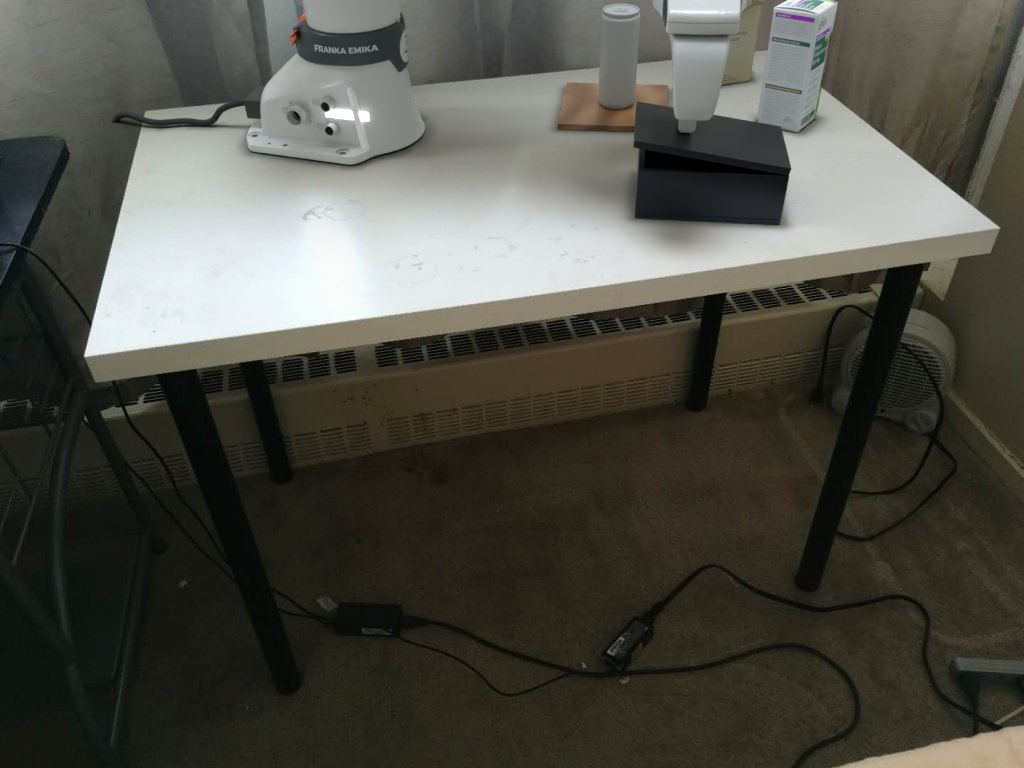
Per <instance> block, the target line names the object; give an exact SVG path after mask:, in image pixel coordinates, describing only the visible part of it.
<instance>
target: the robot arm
mask: <svg viewBox="0 0 1024 768" xmlns="http://www.w3.org/2000/svg"><path fill="white" fill-rule="evenodd" d="M746 2H747V0H652V7H653V8H654V10H656V11H657V12H658V13H659V16H660V17H661V19H662V21H663V24H664V27H665V33H666V34H668V37H669V42H670V51H671V77H672V78H671V80H672V107H673V109H674V116H675V118H676V119H678V130H679V131H680V132H682V133H692V132H694V131H695V129H696V121H705V120H710V119H711V118H712V116H713V115H715V112H716V109H717V106H718V102H719V98H720V93H721V89H722V86H723V85H722V80H723V75H724V71H725V66H726V61H727V56H728V51H729V45H730V38H731V35H734V34H737V33H738V30H739V25H740V18H741V14H742V11H743V10H744V9H745V7H746ZM302 4H303V8H304V9H303V10H304V12H303V14H302V15H301V16H300V17H299V18H298V23H297V24H296V25H295V26H294V27H293V28H292V32H291V34H290V35H289V36H288V39H290V42H289V43H290V44H289V45H290V46H292V47H293V46H294V45H295V47H296V50H297V51H296V53H295V54H294V55H293V56H292V57H290V59H289V60H288V61H287V62H286V63H285V64H283V66H282V67H281V68H280V69H279V70H278V71H277V72H276V73H274V75H273V76H272V77H271V78H270V79H269V80H268V81H267V83H266V84H265V85H258V86H257V87H256V88H255V89H254V90H253V91H252V92H250V93H249V94H248V95H247V96H246V97H244V98H243V99H238V100H237V99H236V100H233V101H229V102H226V103H224V104H221V105H220V106H219V107H217V108H216V110H215V111H214V113H213V115H212V116H211V117H209V118H207V119H199V118H191V117H178V118H177V117H176V118H167V119H165V118H164V119H154V118H149V117H146V116H143V115H140V114H138V113H135V112H132V111H124V110H123V111H119V112H117V113H116V114H115V115H114V116H113V117H112V119H111V123H113V124H115V123H119V122H120V120H122V119H125V118H127V119H131V120H134V121H137V122H139V123H142V124H145V125H148V126H155V127H158V126H159V127H160V126H161V127H163V126H176V125H177V126H178V125H192V126H200V127H206V126H212V125H213V124H216V123H217V122H218V121H219V119H220V117H221V116H222V115H223V113H225V112H227V111H229V110H231V109H234V108H238V107H244V109H245V113H246V117H247V119H252V120H253V119H255V121H254V122H253V123H252V124H251V125H250V127H249V128H248V131H247V134H246V143H247V148H248V149H249V151H250V152H254V153H259V154H260V153H262V154H267V155H275V156H283V157H290V158H295V159H296V158H298V159H305V160H311V161H320V162H327V163H334V164H341V165H351V166H352V165H358V164H360V163H362V162H365V161H367V160H369V159H371V158H373V157H377V156H380V155H384V154H388V153H392V152H395V151H399V150H401V149H404V148H406V147H408V146H410V145H412V144H414V143H415V142H417V141H418V140H419V139H421V137H422V136H423V135H424V133H425V131H426V124H425V123H424V120H423V118H422V115H421V112H420V110H419V107H418V104H417V100H416V97H415V94H414V90H413V86H412V85H413V84H412V81H411V78H410V73H409V67H408V64H409V62H410V61H409V60H410V50H409V49H410V48H409V39H408V38H409V37H408V31H407V28H406V22H405V21H406V20H405V16H404V14H403V13H402V12H401V9H400V0H302Z"/></svg>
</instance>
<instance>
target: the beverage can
mask: <svg viewBox="0 0 1024 768" xmlns="http://www.w3.org/2000/svg"><path fill="white" fill-rule="evenodd" d="M640 11H641V9H640V7H638V6H637V5H634V4H631V3H612V4H608V5H605V6H604V7H603V9H602V14H601V23H600V45H599V46H600V47H599V72H598V73H599V74H598V83H599V94H598V100H599V102H600V103H601V105H602V106H604V107H605V108H608V109H625V108H628V107H630V106H631V105H632V104H633V103H634V101H635V90H636V84H637V74H638V61H639V60H638V59H639V46H640V45H639V44H640V29H641V13H640Z"/></svg>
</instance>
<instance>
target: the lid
mask: <svg viewBox="0 0 1024 768" xmlns="http://www.w3.org/2000/svg"><path fill="white" fill-rule="evenodd" d="M632 147H633V148H634V149H638V150H639V149H644V150H649V151H655V152H661V153H666V154H672V155H678V156H683V157H689V158H694V159H700V160H706V161H711V162H717V163H723V164H728V165H734V166H740V167H745V168H751V169H756V170H762V171H768V172H773V173H779V174H785V175H789V176H790V174H791V171H792V164H791V161H790V156H789V153H788V149H787V144H786V140H785V135H784V133H783V129H782V128H781V126H775V125H769V124H764V123H759V122H758V121H752V120H745V119H741V118H734V117H730V116H723V115H719V114H718V115H717V114H713V116H712V118H711V119H710V120H705V121H696V129H695V131H694V132H692V133H682V132H680V131H679V130H678V119H676V118H675V116H674V109H673V106H668V107H667V106H662V105H656V104H650V103H645V102H639V101H637V104H636V111H635V127H634V132H633V143H632Z"/></svg>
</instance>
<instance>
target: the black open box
mask: <svg viewBox="0 0 1024 768" xmlns="http://www.w3.org/2000/svg"><path fill="white" fill-rule="evenodd" d="M789 181H790V174H789V175H785V174H779V173H773V172H768V171H762V170H756V169H751V168H745V167H740V166H734V165H728V164H723V163H717V162H711V161H706V160H700V159H694V158H689V157H683V156H678V155H672V154H666V153H661V152H655V151H649V150H644V149H638V153H637V168H636V182H635V183H636V184H635V201H634V219H640V220H667V221H686V222H687V221H688V222H709V223H711V222H712V223H729V224H730V223H732V224H735V223H736V224H752V225H753V224H757V225H775V226H776V225H777V226H779V225H781V219H782V215H783V210H784V206H785V200H786V196H787V190H788V185H789Z"/></svg>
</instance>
